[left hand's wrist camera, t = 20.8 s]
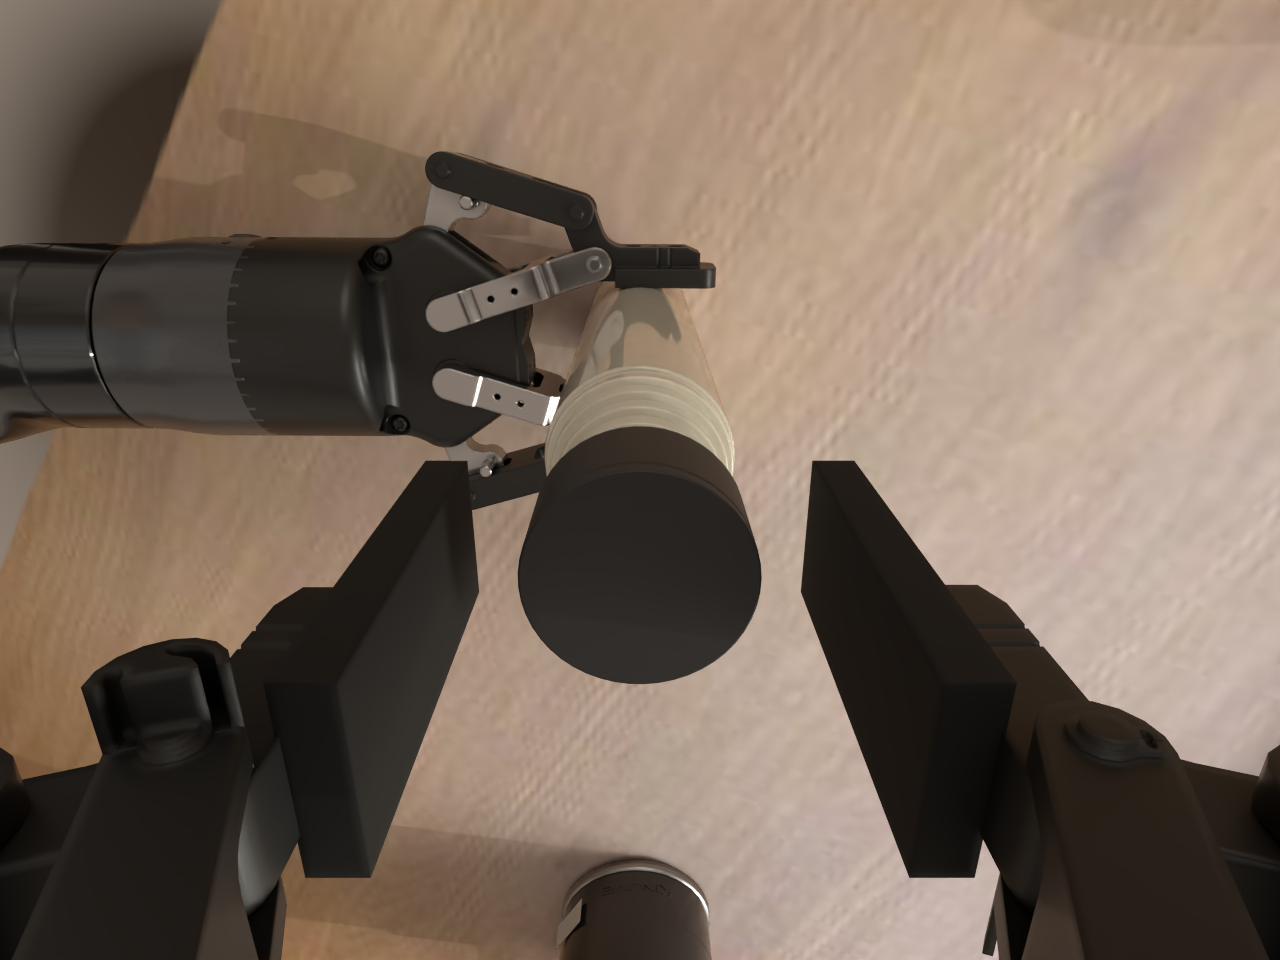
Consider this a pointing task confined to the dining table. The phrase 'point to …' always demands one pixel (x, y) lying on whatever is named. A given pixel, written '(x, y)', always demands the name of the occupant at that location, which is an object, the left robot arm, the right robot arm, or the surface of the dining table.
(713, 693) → the dining table surface
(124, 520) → the dining table surface
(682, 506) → the cap
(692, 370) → the bottle
